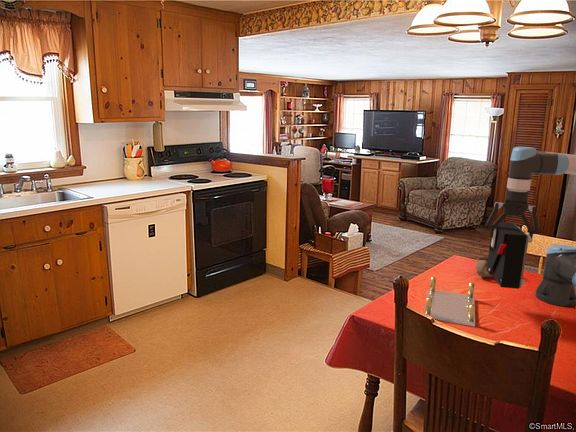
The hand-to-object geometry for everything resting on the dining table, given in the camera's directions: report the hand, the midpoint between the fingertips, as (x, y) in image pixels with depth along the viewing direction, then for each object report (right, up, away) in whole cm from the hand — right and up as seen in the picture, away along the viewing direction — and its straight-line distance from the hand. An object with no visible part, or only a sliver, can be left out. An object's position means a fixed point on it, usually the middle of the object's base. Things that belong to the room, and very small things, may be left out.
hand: (508, 248), depth 168 cm
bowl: (+13, -17, +45) cm, 49 cm away
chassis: (-19, -24, +9) cm, 32 cm away
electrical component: (0, -12, +3) cm, 13 cm away
